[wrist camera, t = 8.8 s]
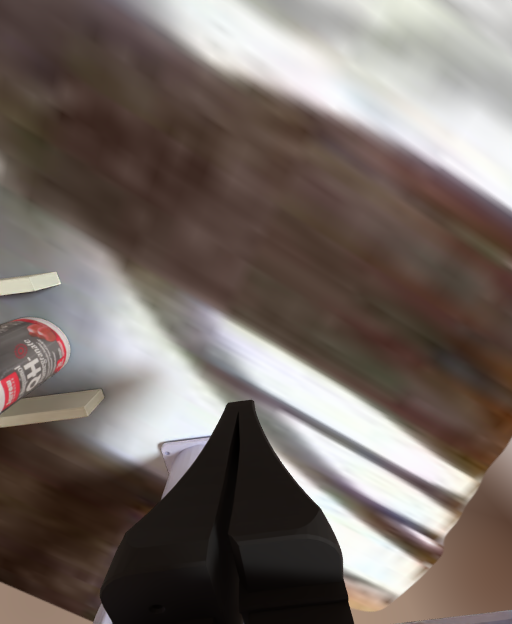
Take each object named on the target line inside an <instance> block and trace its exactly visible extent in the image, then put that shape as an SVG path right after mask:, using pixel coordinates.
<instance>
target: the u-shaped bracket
mask: <svg viewBox="0 0 512 624" xmlns="http://www.w3.org/2000/svg"><path fill="white" fill-rule="evenodd" d="M59 284H61V283H60V280H59V277H58V275H57V272H50V273H43V274H35V275H28V276H20V277H12V278H5V279H0V295H8V294H16V293H23V292H31V291H37V290H40V289H44V288H48V287H52V286H56V285H59ZM104 398H105V397H104V395H103V392H102V389H94V390H87V391H79V392H71V393H63V394H55V395H47V396H39V397H31V398H23V399H20V400H19V401H18V402H16V403H15V404H14V405H12V406H11V407H10V408H8V409H7V410H6V411H4V412H3V413H2V414H0V428H1V427H9V426H17V425H25V424H33V423H41V422H49V421H57V420H65V419H73V418H81V417H88V416H89V415H90V414H91V412H92V411H93V410H94V409H95V408H96V407H97V406H98V404H99V403H100V402H101V401H102V400H103V399H104Z"/></svg>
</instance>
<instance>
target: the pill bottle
mask: <svg viewBox="0 0 512 624" xmlns="http://www.w3.org/2000/svg"><path fill="white" fill-rule="evenodd" d="M69 357H70V344H69V341H68V339H67V337H66V336H65V334H64V333H63V332H62V331H61V330H60V329H59V328H58V327H56V326H55V325H54V324H52V323H50V322H49V321H47V320H44V319H41V318H34V317H24V318H19V319H16V320H13V321H10V322H8V323H5V324H1V325H0V414H2V413H3V412H4V411H6V410H7V409H8V408H10V407H11V406H12V405H14V404H15V403H16V402H18V401H19V400H20V399H22V398H23V397H24V396H26V395H27V394H28V393H30V392H31V391H32V390H34V389H35V388H36V387H38V386H39V385H41V384H42V383H43V382H44V381H46V380H47V379H49V378H50V377H52V376H53V375H54V374H55V373H57V372H58V371H59V370H60V369H62V368H63V367H64V366H65V365H66V363H67V362H68V360H69Z"/></svg>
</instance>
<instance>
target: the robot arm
mask: <svg viewBox="0 0 512 624" xmlns="http://www.w3.org/2000/svg"><path fill="white" fill-rule="evenodd" d="M161 451H162V454H163V457H164V460H165V463H166V466H167V469H168V473H169V477H168V480H167V483H166V486H165V489H164V492H163V495H162V498H161V501H160V502H159V503H158V504H157V505H156V506H155V507H154V508H153V509H152V510H151V511H150V512H149V513H148V514H146V515H145V516H144V517H143V518H142V519H141V520H140V521H139V522H138V523H136V524H135V525H134V526H133V527H132V528H131V529H130V530H128V531H127V532H126V533H125V535H124V538H123V540H122V541H121V543H120V545H119V547H118V549H117V551H116V553H115V556H114V558H113V560H112V563H111V565H110V568H109V570H108V572H107V575H106V577H105V580H104V582H103V584H102V587H101V590H100V598H101V602H102V603H101V606H100V608H99V610H98V612H97V615H96V617H95V619H94V622H93V624H354V621H353V617H352V614H351V610H350V606H349V603H348V594H347V590H346V587H345V583H344V579H343V557H342V552H341V549H340V546H339V544H338V541H337V539H336V536H335V534H334V532H333V530H332V528H331V526H330V524H329V523H328V521H327V519H326V517H325V515H324V514H323V512H322V510H321V508H320V507H319V506H318V505H317V504H316V503H315V502H314V501H313V500H312V499H311V498H310V497H309V496H308V495H307V494H306V493H305V492H304V490H303V489H302V488H301V487H300V486H299V485H298V483H297V482H296V481H295V480H294V478H293V477H292V476H291V475H290V473H289V472H288V471H287V469H286V468H285V467H284V465H283V464H282V462H281V461H280V459H279V458H278V456H277V455H276V453H275V452H274V450H273V448H272V447H271V445H270V443H269V441H268V439H267V438H266V436H265V434H264V432H263V429H262V427H261V425H260V423H259V420H258V417H257V414H256V411H255V405H254V401H253V400H246V401H238V402H230V403H228V404H227V405H226V408H225V410H224V412H223V414H222V416H221V418H220V420H219V422H218V424H217V426H216V428H215V430H214V431H213V433H212V435H211V437H208V438H200V439H192V440H184V441H176V442H168V443H164V444H163V445H162V447H161ZM167 451H168V452H167ZM398 624H512V610H508V611H500V612H491V613H482V614H474V615H465V616H457V617H448V618H440V619H431V620H423V621H414V622H406V623H398Z"/></svg>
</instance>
